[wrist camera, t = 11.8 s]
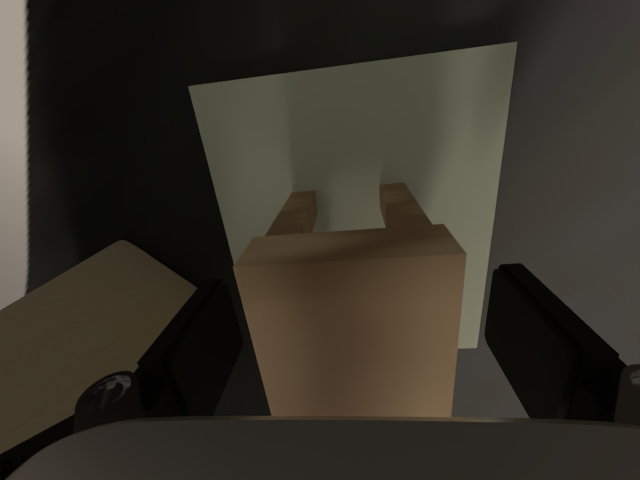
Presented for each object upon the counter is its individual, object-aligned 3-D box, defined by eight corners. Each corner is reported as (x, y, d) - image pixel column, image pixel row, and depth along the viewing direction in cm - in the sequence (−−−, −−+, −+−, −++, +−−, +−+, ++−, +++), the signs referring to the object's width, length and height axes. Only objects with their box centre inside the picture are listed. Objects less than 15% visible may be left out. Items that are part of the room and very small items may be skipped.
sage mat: (470, 336, 19) (476, 348, 19) (260, 341, 21) (256, 352, 20) (505, 45, 13) (517, 41, 12) (197, 87, 15) (188, 86, 14)
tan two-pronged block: (408, 178, 15) (466, 253, 7) (407, 283, 17) (450, 417, 10) (287, 188, 15) (232, 266, 8) (302, 288, 18) (271, 416, 11)
